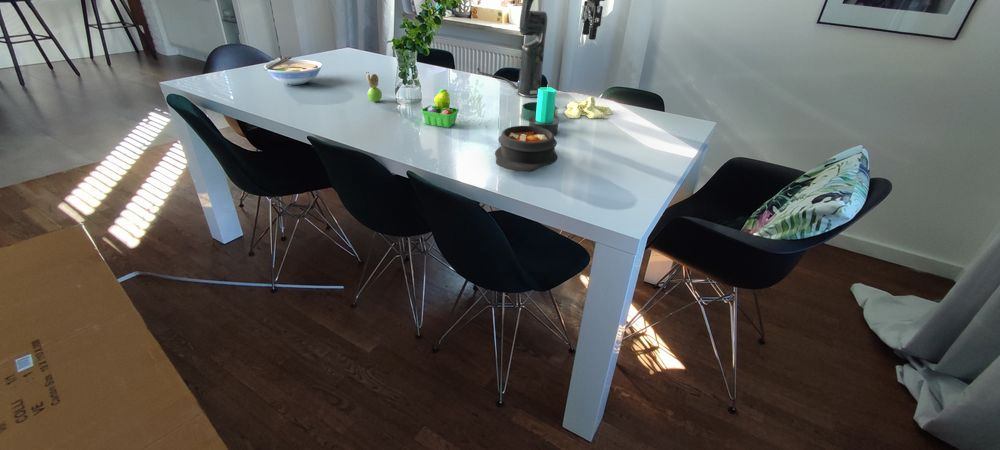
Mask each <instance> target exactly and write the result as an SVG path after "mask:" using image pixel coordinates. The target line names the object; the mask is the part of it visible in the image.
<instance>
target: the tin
mask: <svg viewBox="0 0 1000 450" xmlns="http://www.w3.org/2000/svg"><path fill="white" fill-rule="evenodd" d="M536 110H537V101H531V102H526V103H524V104H522V106H521V118H522V119H523V120H525V121H527V122H529V118H530V117H532V116H536ZM558 113H559V107H558V106H557V105H555V108H554V118H557V119H558Z"/></svg>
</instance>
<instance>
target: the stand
mask: <svg viewBox="0 0 1000 450" xmlns="http://www.w3.org/2000/svg"><path fill="white" fill-rule="evenodd" d="M559 124H560V119H558V117H557V118H553V122H550V123H543V122H538V121H537V120H536V116H532V117H530V118H529V121H528V126H533V127H539V128H543V129H546V130H548V131H550V132H552V133H553V135H554V136H556V135H557V134H558V130H559Z"/></svg>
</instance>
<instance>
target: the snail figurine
mask: <svg viewBox="0 0 1000 450" xmlns="http://www.w3.org/2000/svg"><path fill="white" fill-rule="evenodd" d="M365 73H366V80H367V83H368V86H369V87H370V88H369V89H368V91H367V97H368V100H370V101H371V102H375V103H377V102H380V101H381V99H382V97H383V93H382V90H381V89H380V88H379V87H378V86H379V76H378V75H377V74H375V73H373V74H371V75H370V72H369V71H365Z"/></svg>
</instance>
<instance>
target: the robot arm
mask: <svg viewBox="0 0 1000 450" xmlns="http://www.w3.org/2000/svg"><path fill="white" fill-rule="evenodd" d="M605 1H606V0H584V2H583V9H582V16H581V21H582V23H583V25H582V35H583V36H588V39H589V40H590V41H591V40H592V41H595V40H596V39H597V32H598V28H599V27H601V25H602V16H603V9H604V6H603V5H600V2H605ZM533 3H534V0H522V3H521V4H522V5H521V11H520V18H519V32H520V33H519V34H521V35H522V36H529V37H530V36H532V37H533V36H535V37H536V38H535V39H533V40H532V41H529V42H527V43H524V44H523V45H522V46H521V57H520V70H519V72H518V81H517V85H515V84H514V82H512V81H511V80H509V79H508V78H506V77H502V76H499V75H494V74H490V73H486V72H482V71H480V67H477V68H476V71H477V72H478V74H480V75H484V76H489V77H492V78H497V79H501V80H503V81H506V82H508V83H509V84H510V85H511V86H512V87H513V88H514V89H517V93H518V95H519V96H522V97H524V98H538V89H539V88H542V78H543V69H544V68H543V67H544V58H545V57H544V56H545V55H544V54H545V45H546V38H547V37H546V35H547V29H548V21H549V19H548V14H547V11H544V10H531V8H532V6H533Z"/></svg>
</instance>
